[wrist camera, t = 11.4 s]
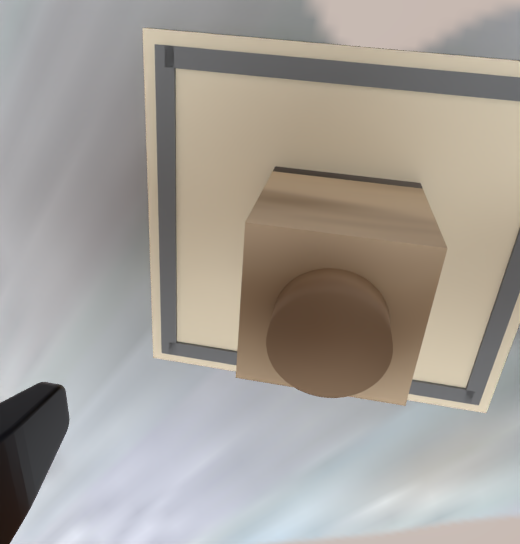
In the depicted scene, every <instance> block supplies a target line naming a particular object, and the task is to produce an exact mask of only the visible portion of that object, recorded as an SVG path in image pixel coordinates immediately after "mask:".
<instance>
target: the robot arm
mask: <svg viewBox="0 0 520 544" xmlns="http://www.w3.org/2000/svg"><path fill="white" fill-rule="evenodd" d="M68 426H69V412H68V405H67V397H66V391H65V388H64V387H63V386H62V385H59V384H54V383H48V382H40V383H38V384H36V385H34V386H32V387H30V388H28V389H26V390H24V391H22V392H20V393H18V394H16V395H15V396H13V397H11V398H9V399H7V400H5V401H3V402H1V403H0V544H10V542H11V541H12V539H13V537H14V536H15V534H16V532H17V531H18V529H19V527H20V525H21V524H22V522H23V520H24V519H25V517H26V515H27V513H28V512H29V510H30V508H31V506H32V504H33V502H34V500H35V498H36V496H37V494H38V492H39V490H40V488H41V485H42V483H43V481H44V479H45V477H46V475H47V473H48V470H49V468H50V466H51V464H52V462H53V460H54V458H55V456H56V453H57V451H58V449H59V447H60V445H61V443H62V441H63V438H64V436H65V434H66V432H67V429H68Z"/></svg>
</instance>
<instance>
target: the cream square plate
mask: <svg viewBox="0 0 520 544" xmlns="http://www.w3.org/2000/svg"><path fill="white" fill-rule="evenodd" d="M143 58H144V89H145V120H146V150H147V181H148V212H149V242H150V273H151V304H152V335H153V358H158V359H164V360H170V361H176V362H182V363H188V364H194V365H200V366H206V367H212V368H218V369H224V370H230V371H236V365H237V348H238V332H239V315H240V299H241V282H242V266H243V249H244V233H245V222H246V220H247V218H248V216H249V214H250V212H251V211H252V209H253V207H254V205H255V203H256V201H257V199H258V198H259V196H260V194H261V192H262V190H263V188H264V186H265V185H266V183H267V181H268V179H269V177H270V175H271V174H272V172H273V170H274V168H275V166H278V167H286V168H295V169H304V170H312V171H321V172H330V173H339V174H347V175H356V176H365V177H373V178H382V179H391V180H399V181H408V182H417V183H421V186H422V188H423V190H424V193H425V195H426V198H427V200H428V203H429V205H430V207H431V210H432V212H433V215H434V217H435V219H436V222H437V224H438V227H439V229H440V231H441V234H442V236H443V239H444V241H445V243H446V246H447V248H448V249H447V252H446V256H445V260H444V264H443V267H442V271H441V275H440V278H439V282H438V286H437V290H436V293H435V297H434V301H433V305H432V308H431V312H430V316H429V319H428V323H427V327H426V331H425V334H424V338H423V342H422V346H421V349H420V353H419V357H418V360H417V364H416V368H415V372H414V375H413V379H412V383H411V386H410V390H409V394H408V398H407V400H410V401H416V402H422V403H428V404H434V405H440V406H446V407H452V408H458V409H464V410H470V411H476V412H482V413H487V410H488V407H489V405H490V402H491V399H492V396H493V394H494V391H495V388H496V386H497V383H498V380H499V378H500V375H501V372H502V370H503V367H504V364H505V362H506V359H507V356H508V354H509V351H510V348H511V346H512V343H513V340H514V338H515V335H516V332H517V329H518V327H519V324H520V61H519V60H507V59H496V58H484V57H473V56H462V55H450V54H439V53H427V52H416V51H404V50H393V49H381V48H370V47H359V46H347V45H336V44H324V43H313V42H301V41H290V40H279V39H267V38H256V37H244V36H233V35H221V34H210V33H198V32H187V31H176V30H164V29H153V28H143Z"/></svg>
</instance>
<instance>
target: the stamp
mask: <svg viewBox="0 0 520 544" xmlns="http://www.w3.org/2000/svg"><path fill="white" fill-rule="evenodd" d="M447 249H448V248H447V246H446V243H445V241H444V239H443V236H442V234H441V231H440V229H439V227H438V224H437V222H436V219H435V217H434V215H433V212H432V210H431V207H430V205H429V203H428V200H427V198H426V195H425V193H424V190H423V188H422V186H421V183H417V182H408V181H399V180H391V179H382V178H373V177H365V176H356V175H347V174H339V173H330V172H321V171H312V170H304V169H295V168H286V167H278V166H275V168H274V170H273V172H272V174H271V175H270V177H269V179H268V181H267V183H266V185H265V186H264V188H263V190H262V192H261V194H260V196H259V198H258V199H257V201H256V203H255V205H254V207H253V209H252V211H251V212H250V214H249V216H248V218H247V220H246V222H245V233H244V249H243V266H242V282H241V299H240V315H239V332H238V348H237V365H236V378H241V379H247V380H253V381H259V382H265V383H271V384H277V385H283V386H289V387H295V388H296V389H298V390H300V391H303V392H305V393H308V394H311V395H314V396H319V397H326V398H339V397H347V396H350V397H356V398H362V399H368V400H374V401H380V402H386V403H392V404H398V405H404V406H405V405H406V401H407V398H408V394H409V390H410V386H411V383H412V379H413V375H414V372H415V368H416V364H417V360H418V357H419V353H420V349H421V346H422V342H423V338H424V334H425V331H426V327H427V323H428V319H429V316H430V312H431V308H432V305H433V301H434V297H435V293H436V290H437V286H438V282H439V278H440V275H441V271H442V267H443V264H444V260H445V256H446V252H447Z"/></svg>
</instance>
